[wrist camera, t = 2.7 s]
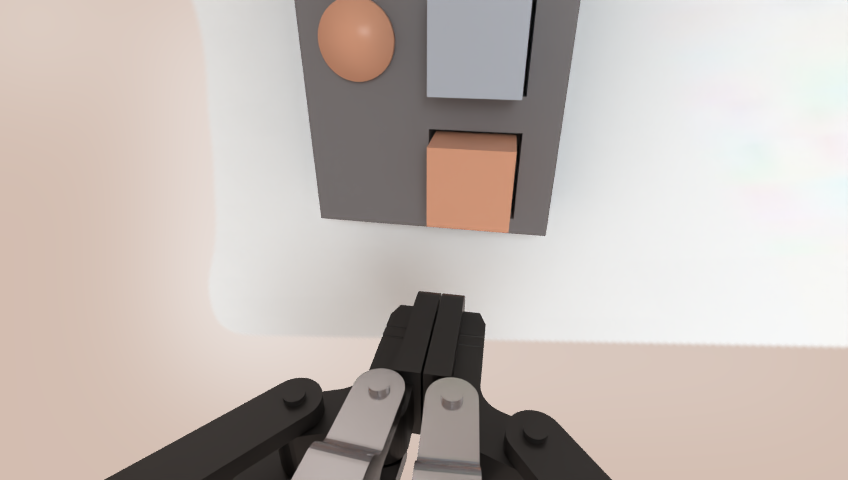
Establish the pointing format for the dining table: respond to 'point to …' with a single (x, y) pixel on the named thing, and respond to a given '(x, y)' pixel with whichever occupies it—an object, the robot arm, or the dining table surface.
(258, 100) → the dining table surface
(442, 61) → the blue key
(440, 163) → the terracotta key
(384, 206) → the key panel
